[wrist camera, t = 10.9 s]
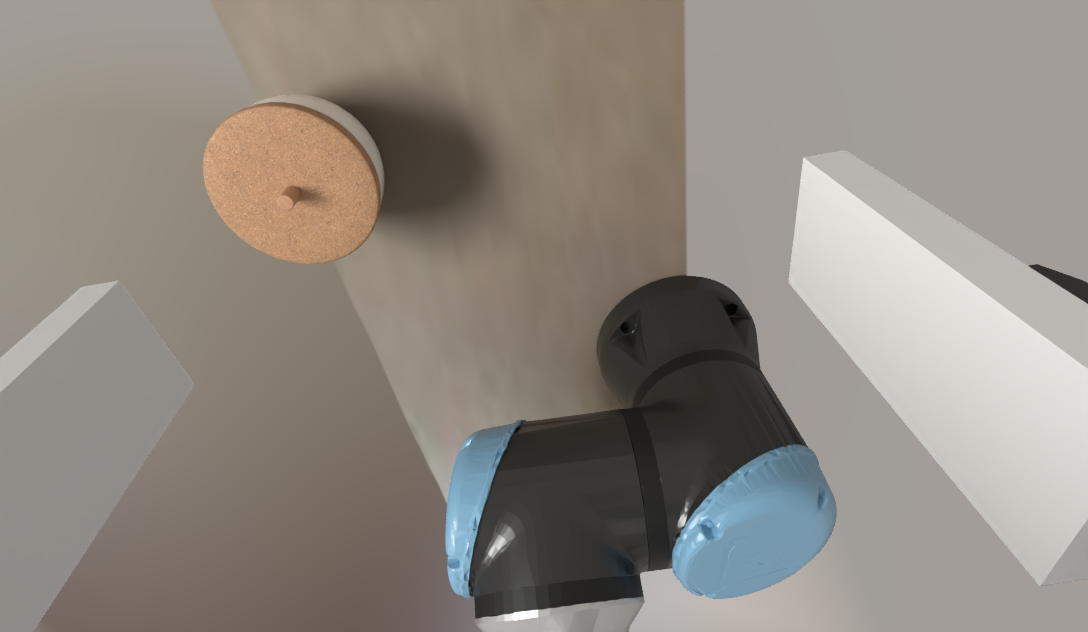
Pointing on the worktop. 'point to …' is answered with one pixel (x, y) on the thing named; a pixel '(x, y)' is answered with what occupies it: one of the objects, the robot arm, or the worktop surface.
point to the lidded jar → (296, 178)
